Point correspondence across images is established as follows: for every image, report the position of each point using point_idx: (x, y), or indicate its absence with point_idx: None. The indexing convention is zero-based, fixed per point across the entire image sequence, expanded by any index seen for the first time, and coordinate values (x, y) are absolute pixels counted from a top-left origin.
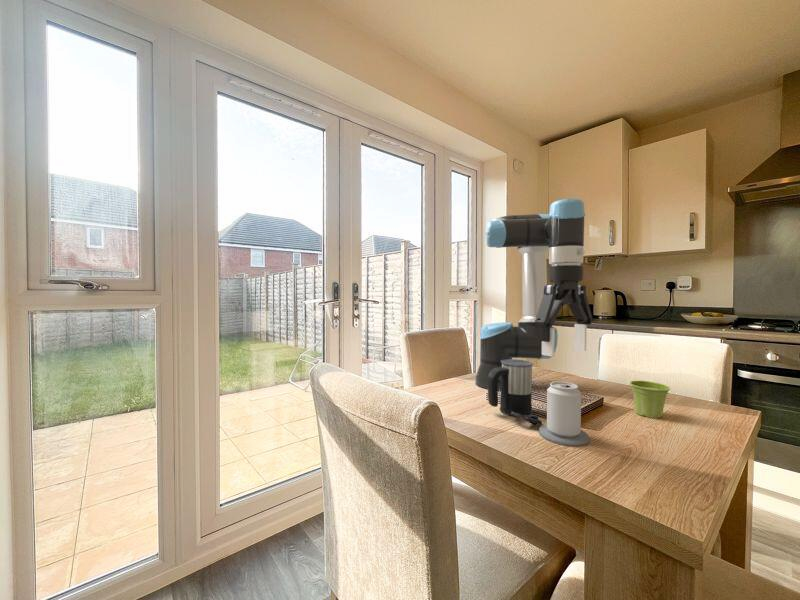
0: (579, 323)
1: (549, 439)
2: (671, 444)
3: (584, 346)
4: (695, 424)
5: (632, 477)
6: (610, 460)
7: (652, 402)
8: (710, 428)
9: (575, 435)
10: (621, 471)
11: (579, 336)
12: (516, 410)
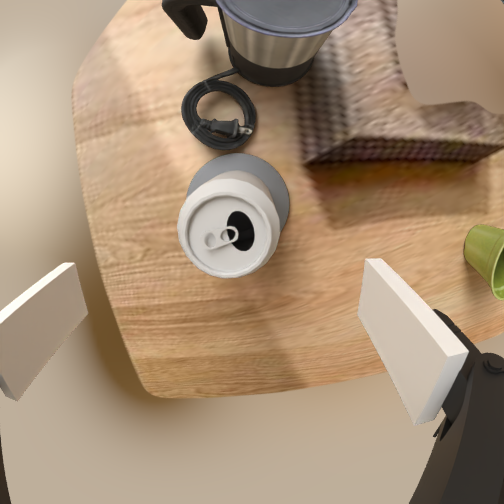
0: (459, 380)
1: None
2: None
3: (364, 326)
4: (472, 303)
5: (196, 339)
6: (217, 304)
7: (479, 270)
8: (466, 319)
9: (231, 237)
10: (198, 326)
11: (391, 333)
12: (240, 68)
